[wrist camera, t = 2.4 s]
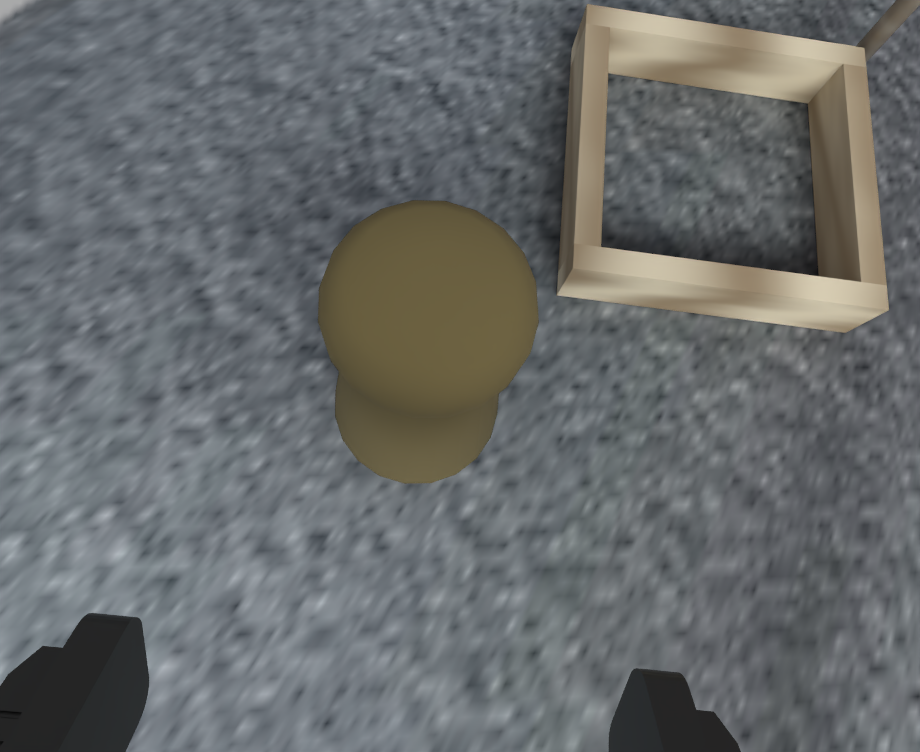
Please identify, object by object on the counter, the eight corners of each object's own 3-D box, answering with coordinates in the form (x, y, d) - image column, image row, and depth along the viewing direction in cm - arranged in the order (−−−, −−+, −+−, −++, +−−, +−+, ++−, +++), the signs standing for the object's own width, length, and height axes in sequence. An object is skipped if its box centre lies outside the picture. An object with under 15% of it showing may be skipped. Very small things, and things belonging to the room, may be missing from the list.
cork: (349, 314, 25) (317, 135, 15) (505, 338, 26) (581, 179, 15) (320, 471, 24) (261, 394, 13) (488, 494, 24) (561, 437, 14)
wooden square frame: (556, 295, 26) (779, -79, 11) (572, 34, 30) (756, -518, 15) (956, 347, 28) (1661, 68, 12) (924, 89, 31) (1437, -374, 16)
